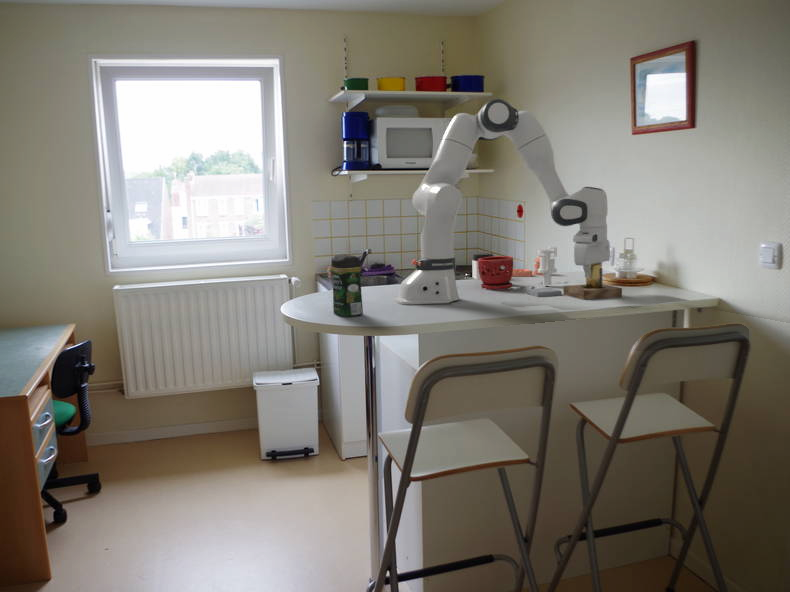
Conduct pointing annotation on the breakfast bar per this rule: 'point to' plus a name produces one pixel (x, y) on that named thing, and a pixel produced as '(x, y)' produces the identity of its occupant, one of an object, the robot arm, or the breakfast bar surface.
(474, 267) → the jar
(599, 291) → the eye block
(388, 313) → the breakfast bar surface
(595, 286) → the brass peg
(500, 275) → the plant pot
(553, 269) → the grey tall piece
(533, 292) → the slate coaster
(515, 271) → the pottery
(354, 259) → the coffee jar
